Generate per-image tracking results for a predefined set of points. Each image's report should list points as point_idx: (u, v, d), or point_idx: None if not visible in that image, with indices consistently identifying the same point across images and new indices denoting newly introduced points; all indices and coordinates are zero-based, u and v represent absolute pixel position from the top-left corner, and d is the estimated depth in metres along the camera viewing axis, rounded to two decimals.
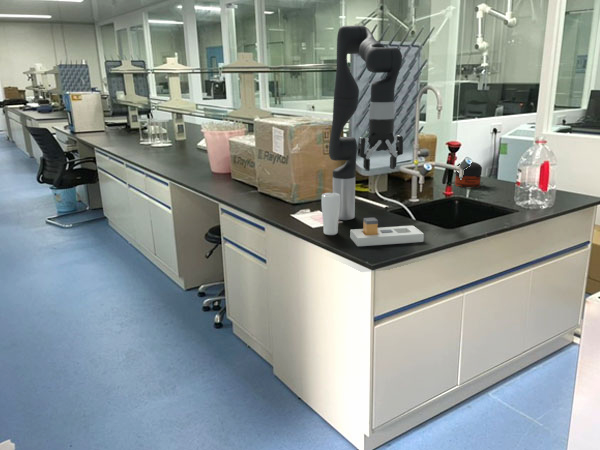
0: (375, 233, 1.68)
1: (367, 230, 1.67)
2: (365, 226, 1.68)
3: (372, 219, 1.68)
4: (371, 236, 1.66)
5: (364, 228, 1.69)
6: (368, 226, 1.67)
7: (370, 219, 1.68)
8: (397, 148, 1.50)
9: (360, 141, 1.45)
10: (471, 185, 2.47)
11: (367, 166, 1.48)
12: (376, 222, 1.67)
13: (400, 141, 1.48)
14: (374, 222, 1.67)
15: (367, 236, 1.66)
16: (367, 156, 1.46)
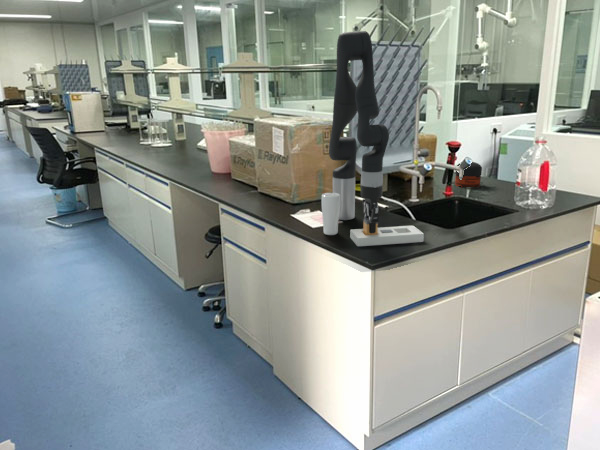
0: (375, 233, 1.68)
1: (367, 230, 1.67)
2: (365, 226, 1.68)
3: None
4: (371, 236, 1.66)
5: (364, 228, 1.69)
6: (368, 226, 1.67)
7: None
8: None
9: (377, 211, 1.61)
10: (471, 185, 2.47)
11: (374, 229, 1.67)
12: None
13: None
14: None
15: (367, 236, 1.66)
16: None
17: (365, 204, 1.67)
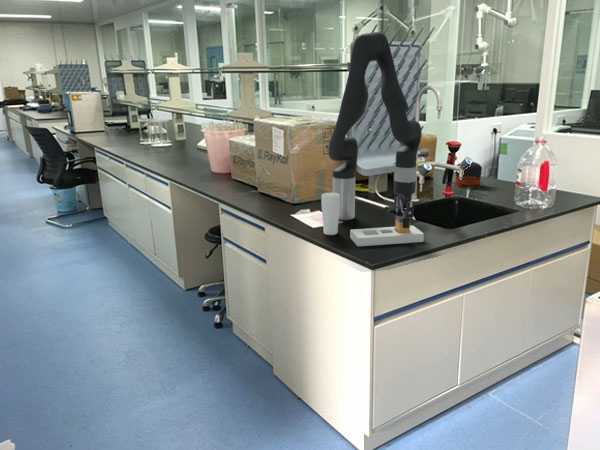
0: (407, 231, 1.70)
1: (400, 227, 1.69)
2: (397, 224, 1.70)
3: None
4: (371, 236, 1.66)
5: (396, 226, 1.71)
6: (401, 224, 1.68)
7: (402, 217, 1.70)
8: None
9: (412, 205, 1.62)
10: (471, 185, 2.47)
11: (408, 224, 1.67)
12: None
13: None
14: None
15: (367, 236, 1.66)
16: None
17: (398, 200, 1.69)
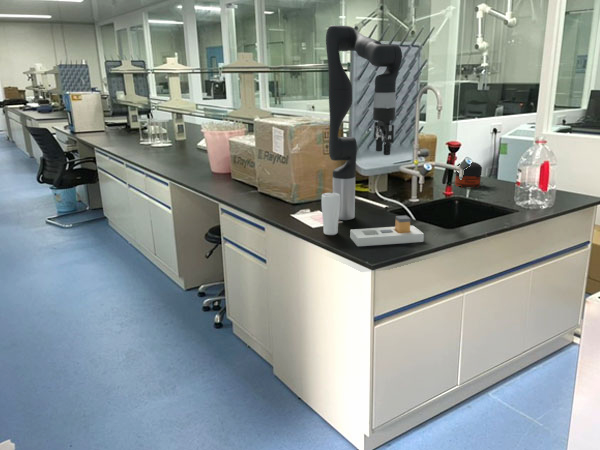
0: (407, 231, 1.70)
1: (400, 227, 1.69)
2: (397, 224, 1.70)
3: (404, 217, 1.70)
4: (371, 236, 1.66)
5: (396, 226, 1.71)
6: (401, 224, 1.68)
7: (402, 217, 1.70)
8: None
9: (391, 128, 1.60)
10: (471, 185, 2.47)
11: None
12: (409, 220, 1.69)
13: None
14: (407, 220, 1.68)
15: (367, 236, 1.66)
16: None
17: (377, 128, 1.67)
